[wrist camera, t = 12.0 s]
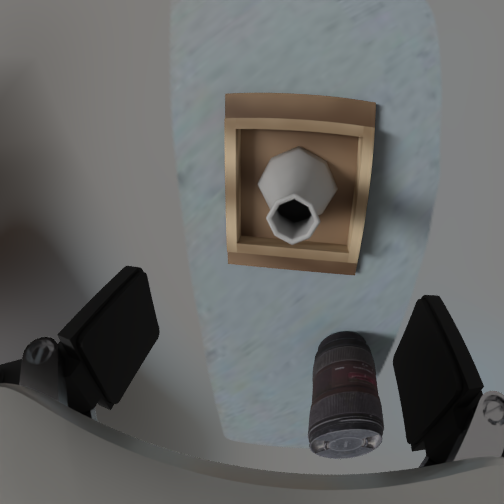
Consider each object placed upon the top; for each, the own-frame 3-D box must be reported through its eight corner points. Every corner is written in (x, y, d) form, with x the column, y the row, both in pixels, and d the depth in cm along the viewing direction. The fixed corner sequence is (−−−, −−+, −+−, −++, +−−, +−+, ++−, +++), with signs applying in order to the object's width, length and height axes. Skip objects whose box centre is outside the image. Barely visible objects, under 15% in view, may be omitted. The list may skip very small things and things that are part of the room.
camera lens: (369, 320, 32) (387, 423, 19) (372, 361, 35) (382, 453, 22) (307, 332, 34) (300, 435, 21) (317, 370, 38) (312, 462, 24)
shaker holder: (227, 94, 24) (219, 91, 21) (373, 103, 22) (381, 101, 19) (229, 260, 32) (223, 272, 29) (353, 271, 30) (357, 285, 27)
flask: (350, 189, 25) (373, 226, 16) (295, 234, 28) (288, 289, 19) (299, 132, 24) (296, 136, 15) (244, 182, 27) (213, 215, 18)
